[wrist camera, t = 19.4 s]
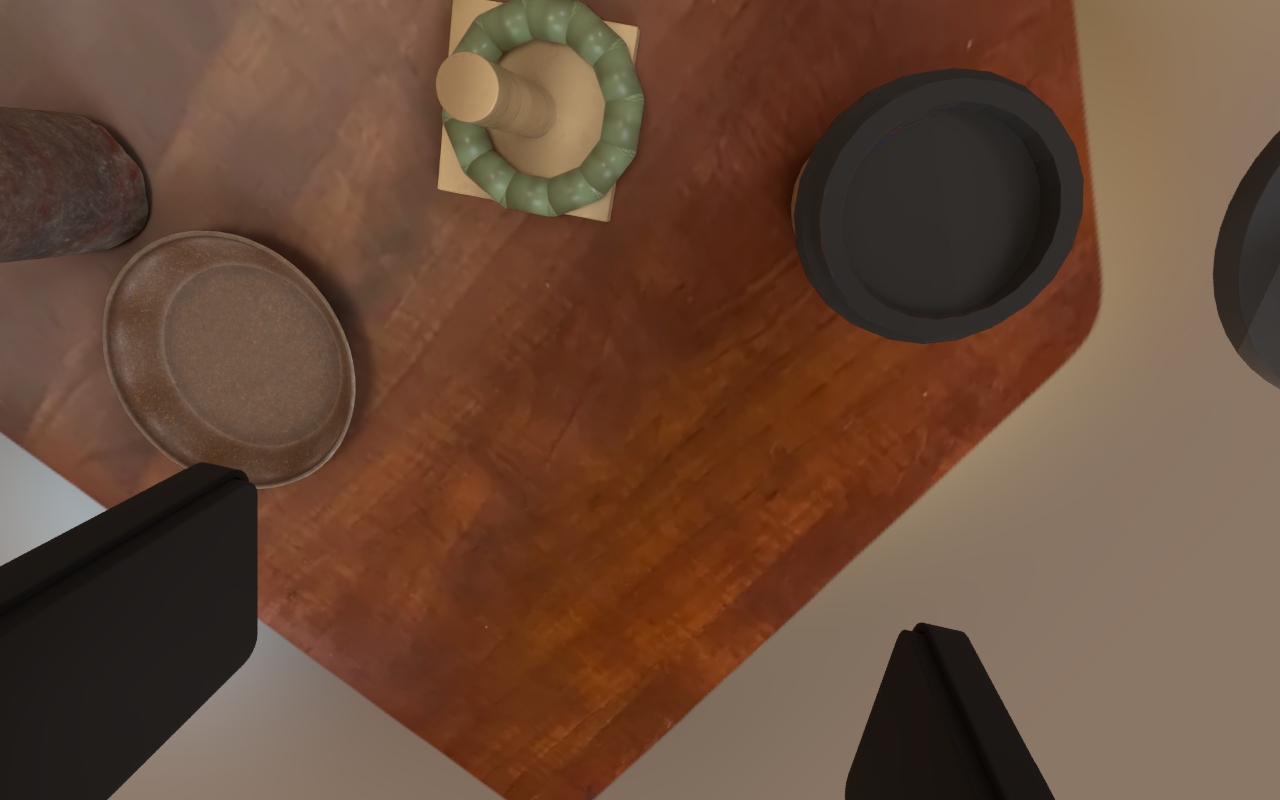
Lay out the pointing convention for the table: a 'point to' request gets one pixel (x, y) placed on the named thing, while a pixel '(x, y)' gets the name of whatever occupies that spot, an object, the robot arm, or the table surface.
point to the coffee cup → (938, 205)
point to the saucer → (229, 357)
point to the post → (524, 105)
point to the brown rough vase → (64, 186)
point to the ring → (554, 16)
